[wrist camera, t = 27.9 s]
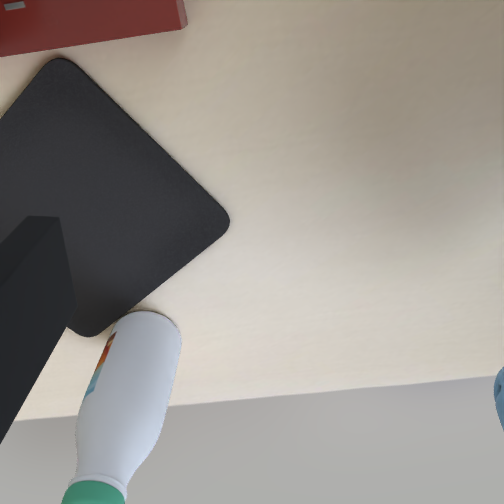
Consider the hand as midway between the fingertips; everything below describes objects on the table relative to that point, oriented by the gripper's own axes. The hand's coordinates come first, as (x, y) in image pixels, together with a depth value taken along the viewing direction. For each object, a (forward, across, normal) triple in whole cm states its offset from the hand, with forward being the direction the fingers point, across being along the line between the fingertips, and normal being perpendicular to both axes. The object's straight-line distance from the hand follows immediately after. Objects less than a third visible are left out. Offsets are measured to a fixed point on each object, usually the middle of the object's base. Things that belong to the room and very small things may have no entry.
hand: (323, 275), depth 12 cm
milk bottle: (+29, -13, -29) cm, 43 cm away
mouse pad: (+29, -19, -14) cm, 37 cm away
